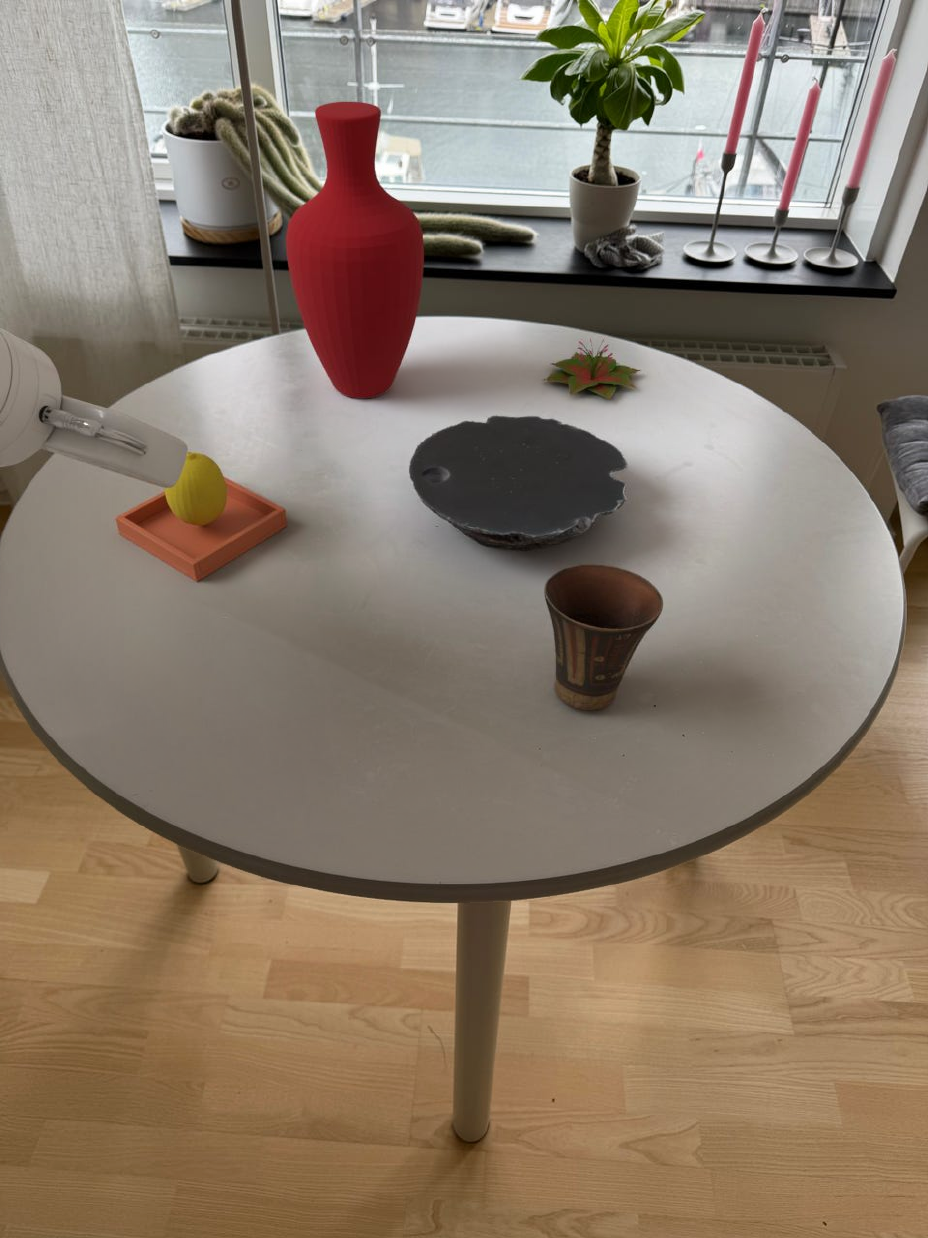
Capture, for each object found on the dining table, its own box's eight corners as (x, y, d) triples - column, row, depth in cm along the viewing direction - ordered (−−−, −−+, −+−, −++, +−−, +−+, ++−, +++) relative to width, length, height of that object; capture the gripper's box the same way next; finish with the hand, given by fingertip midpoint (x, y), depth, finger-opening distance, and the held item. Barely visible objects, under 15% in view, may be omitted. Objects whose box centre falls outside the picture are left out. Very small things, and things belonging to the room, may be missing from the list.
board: (365, 538, 92) (362, 494, 89) (462, 433, 107) (463, 391, 104) (583, 605, 85) (589, 559, 82) (654, 482, 100) (661, 439, 97)
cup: (643, 651, 81) (661, 556, 74) (647, 730, 74) (668, 633, 68) (537, 642, 82) (547, 547, 75) (532, 720, 75) (542, 623, 68)
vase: (372, 346, 122) (359, 82, 103) (451, 388, 115) (453, 111, 95) (275, 383, 115) (242, 105, 95) (352, 431, 107) (333, 138, 87)
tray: (196, 582, 87) (193, 564, 85) (119, 534, 92) (114, 517, 90) (287, 525, 93) (285, 508, 92) (210, 484, 98) (207, 467, 97)
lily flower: (615, 414, 111) (620, 378, 108) (524, 386, 115) (526, 350, 112) (657, 374, 118) (663, 338, 115) (570, 349, 123) (573, 314, 120)
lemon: (214, 547, 90) (200, 474, 84) (161, 535, 91) (145, 462, 86) (242, 515, 94) (231, 443, 88) (192, 503, 95) (178, 432, 90)
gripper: (128, 387, 62) (240, 448, 75) (-101, 322, 68) (39, 389, 81) (96, 480, 61) (213, 525, 75) (-130, 407, 68) (14, 460, 81)
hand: (121, 454), depth 78 cm, fingers open, 8 cm apart
